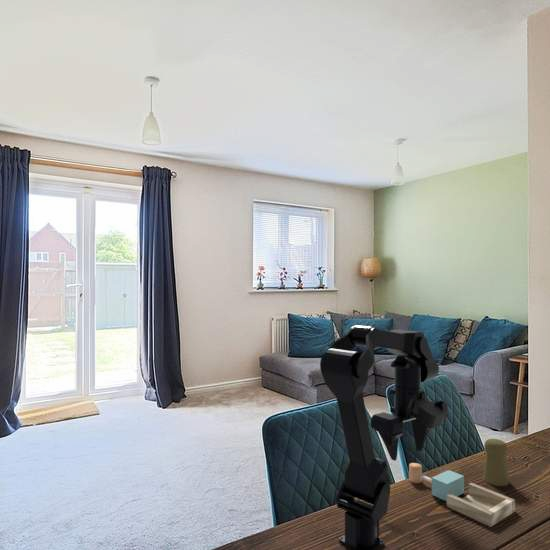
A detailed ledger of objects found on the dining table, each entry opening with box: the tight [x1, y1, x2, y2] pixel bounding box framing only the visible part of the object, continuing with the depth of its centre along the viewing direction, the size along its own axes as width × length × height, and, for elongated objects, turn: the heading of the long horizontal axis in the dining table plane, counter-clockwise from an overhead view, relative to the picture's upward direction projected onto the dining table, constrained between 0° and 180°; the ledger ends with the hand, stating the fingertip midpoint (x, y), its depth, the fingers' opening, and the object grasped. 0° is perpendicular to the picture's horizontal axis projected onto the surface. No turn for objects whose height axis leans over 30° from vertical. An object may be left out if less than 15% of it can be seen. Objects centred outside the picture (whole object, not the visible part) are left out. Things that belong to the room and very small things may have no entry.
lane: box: [446, 482, 516, 528], centre depth 99 cm, size 10×10×4 cm
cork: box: [482, 438, 510, 487], centre depth 113 cm, size 6×6×11 cm
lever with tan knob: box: [408, 462, 465, 502], centre depth 109 cm, size 7×12×5 cm, turn 36°
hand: (406, 455), depth 102 cm, fingers open, 9 cm apart
